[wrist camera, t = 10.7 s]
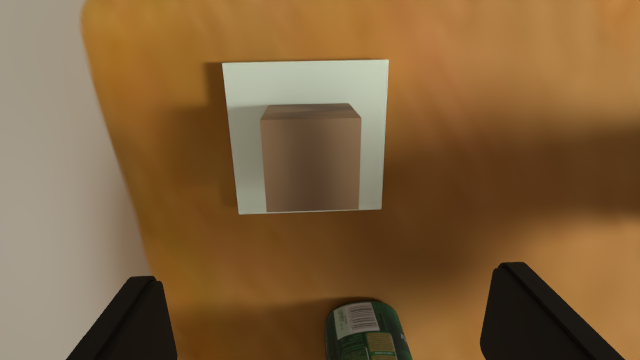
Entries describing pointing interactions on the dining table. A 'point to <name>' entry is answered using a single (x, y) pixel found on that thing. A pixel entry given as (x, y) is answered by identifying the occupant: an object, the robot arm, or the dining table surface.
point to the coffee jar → (365, 333)
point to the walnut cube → (311, 157)
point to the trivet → (304, 88)
